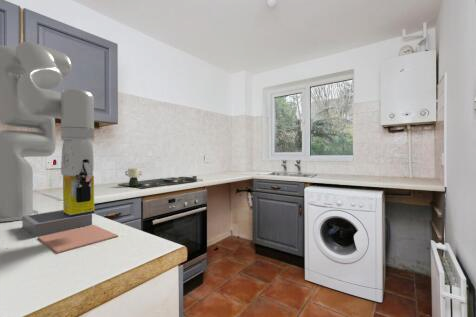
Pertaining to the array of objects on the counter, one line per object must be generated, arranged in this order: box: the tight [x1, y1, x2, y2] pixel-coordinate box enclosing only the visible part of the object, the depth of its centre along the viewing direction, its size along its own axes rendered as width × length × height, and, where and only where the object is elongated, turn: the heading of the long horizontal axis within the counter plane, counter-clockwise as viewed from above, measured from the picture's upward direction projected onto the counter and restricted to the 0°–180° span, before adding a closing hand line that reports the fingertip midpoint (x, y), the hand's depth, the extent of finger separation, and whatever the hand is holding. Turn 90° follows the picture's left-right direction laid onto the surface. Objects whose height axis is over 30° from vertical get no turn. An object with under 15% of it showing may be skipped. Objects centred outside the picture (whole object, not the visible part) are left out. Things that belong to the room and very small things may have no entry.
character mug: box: [125, 167, 143, 187], centre depth 167 cm, size 11×7×13 cm, turn 107°
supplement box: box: [62, 174, 95, 218], centre depth 64 cm, size 6×6×11 cm
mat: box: [37, 224, 119, 254], centre depth 64 cm, size 16×14×1 cm
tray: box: [21, 209, 93, 238], centre depth 74 cm, size 14×14×4 cm
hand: (78, 199), depth 64 cm, fingers closed on supplement box, 6 cm apart
